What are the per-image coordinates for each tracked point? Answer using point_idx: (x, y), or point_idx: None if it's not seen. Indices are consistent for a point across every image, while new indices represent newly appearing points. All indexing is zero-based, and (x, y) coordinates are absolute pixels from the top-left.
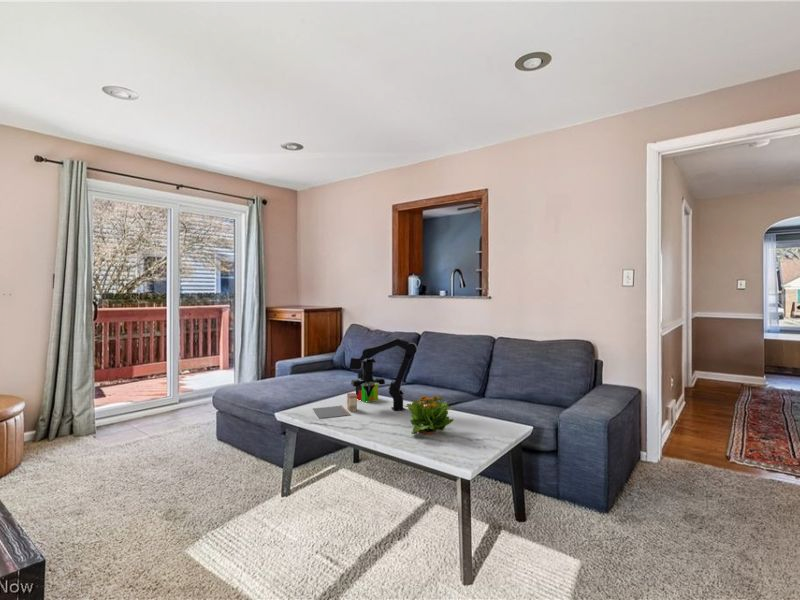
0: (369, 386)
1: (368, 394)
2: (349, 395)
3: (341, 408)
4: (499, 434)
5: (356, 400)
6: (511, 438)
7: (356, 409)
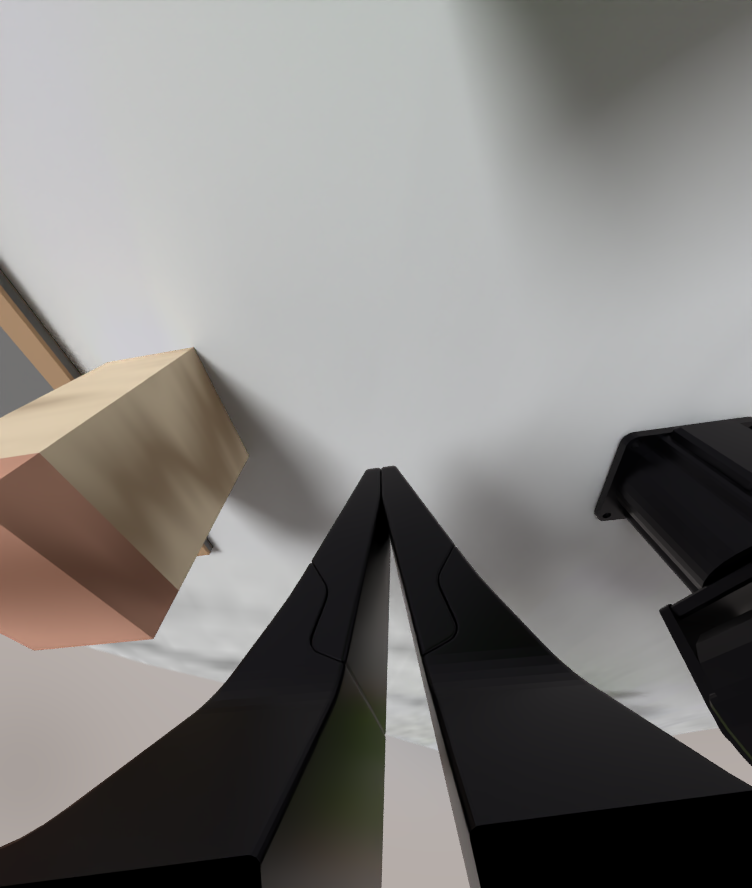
0: (454, 810)
1: (387, 553)
2: (10, 637)
3: (16, 356)
4: (709, 718)
5: (193, 553)
6: (702, 728)
7: (239, 467)
